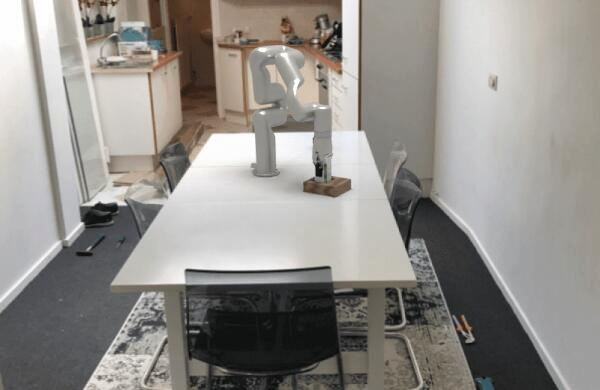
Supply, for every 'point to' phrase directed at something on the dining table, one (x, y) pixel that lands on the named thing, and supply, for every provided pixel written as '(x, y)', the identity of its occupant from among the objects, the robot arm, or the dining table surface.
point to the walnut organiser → (327, 186)
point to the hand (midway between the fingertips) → (323, 174)
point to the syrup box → (325, 170)
